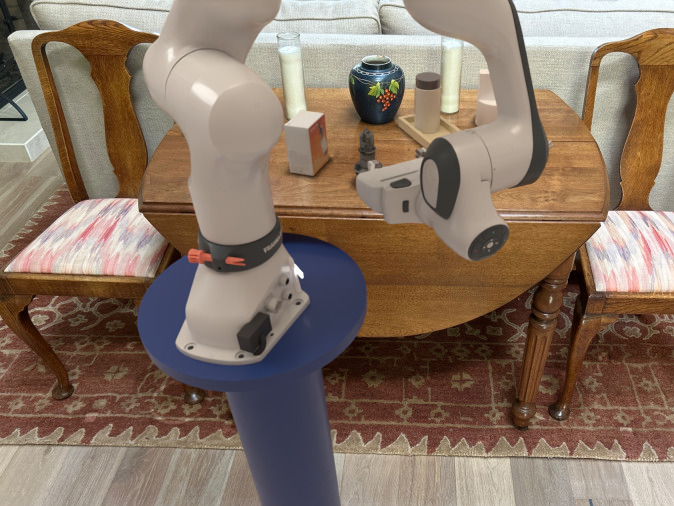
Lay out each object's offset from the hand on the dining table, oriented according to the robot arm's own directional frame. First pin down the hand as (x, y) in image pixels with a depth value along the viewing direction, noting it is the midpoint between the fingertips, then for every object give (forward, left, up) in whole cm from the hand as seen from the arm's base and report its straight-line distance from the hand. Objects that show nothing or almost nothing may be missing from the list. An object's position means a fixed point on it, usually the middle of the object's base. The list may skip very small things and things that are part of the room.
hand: (395, 157), depth 101 cm
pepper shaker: (+36, +1, -10) cm, 37 cm away
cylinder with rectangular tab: (+43, -14, -11) cm, 47 cm away
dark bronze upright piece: (+9, +8, -11) cm, 16 cm away
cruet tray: (+33, -1, -11) cm, 35 cm away
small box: (+13, +22, -11) cm, 28 cm away
